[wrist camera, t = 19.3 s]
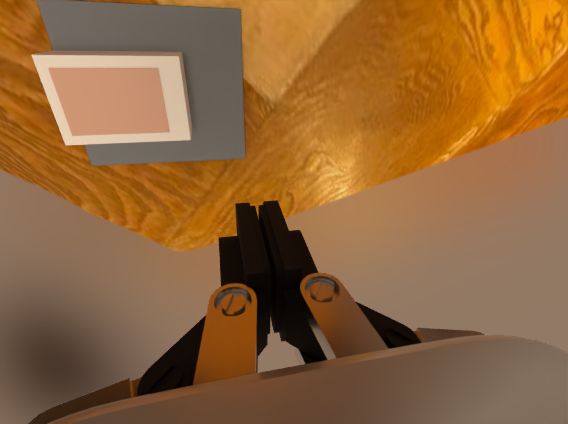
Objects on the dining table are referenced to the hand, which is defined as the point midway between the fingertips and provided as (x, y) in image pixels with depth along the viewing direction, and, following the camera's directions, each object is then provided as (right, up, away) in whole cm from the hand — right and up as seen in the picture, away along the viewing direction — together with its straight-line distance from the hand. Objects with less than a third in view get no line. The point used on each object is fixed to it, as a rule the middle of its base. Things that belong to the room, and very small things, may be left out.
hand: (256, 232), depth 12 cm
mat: (-12, +14, +21) cm, 28 cm away
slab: (-9, +13, +19) cm, 25 cm away
